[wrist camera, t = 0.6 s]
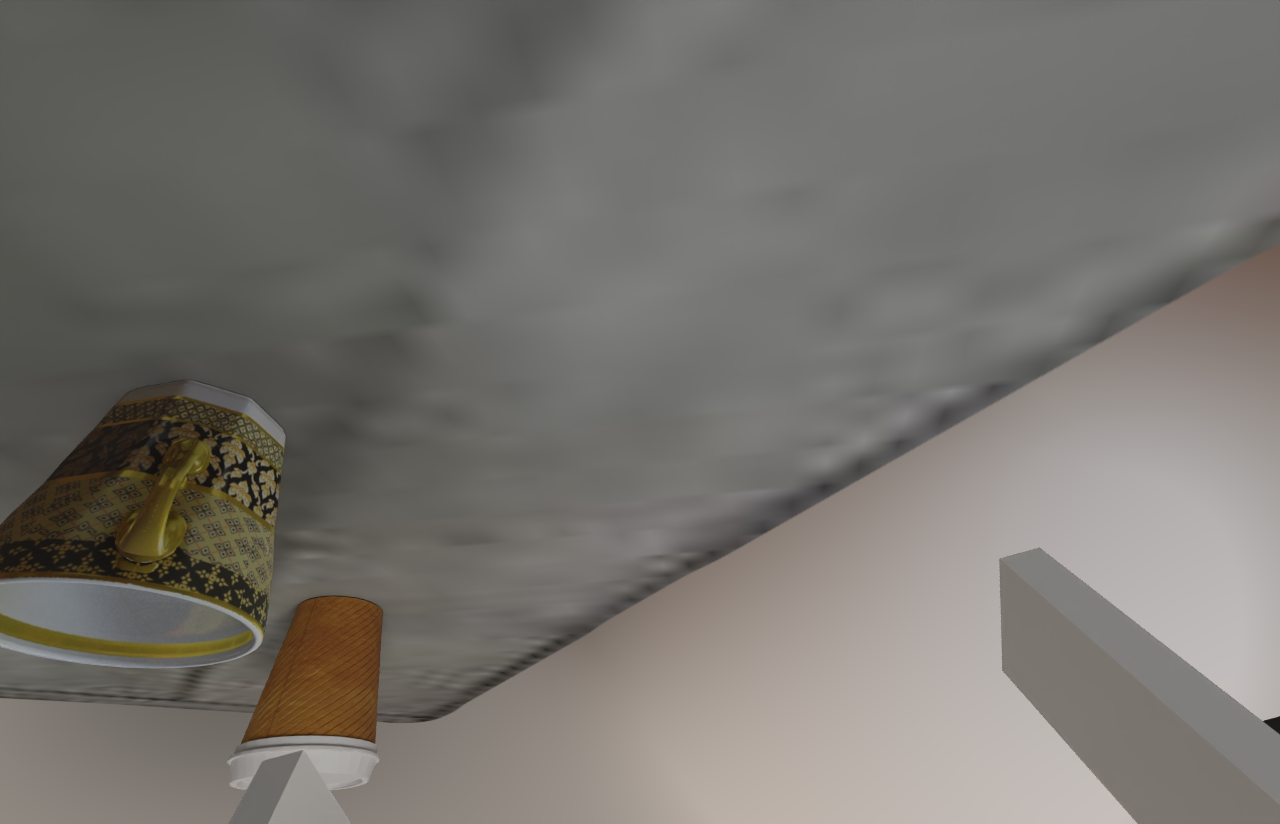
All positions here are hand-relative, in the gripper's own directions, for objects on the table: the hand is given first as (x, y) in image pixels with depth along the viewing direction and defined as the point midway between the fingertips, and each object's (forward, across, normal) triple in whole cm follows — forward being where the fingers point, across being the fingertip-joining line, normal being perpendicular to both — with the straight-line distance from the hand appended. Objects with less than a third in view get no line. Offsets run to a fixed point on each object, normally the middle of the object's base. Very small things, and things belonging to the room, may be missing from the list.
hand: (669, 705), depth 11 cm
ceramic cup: (+20, -18, +4) cm, 28 cm away
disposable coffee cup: (+34, -26, -17) cm, 46 cm away
